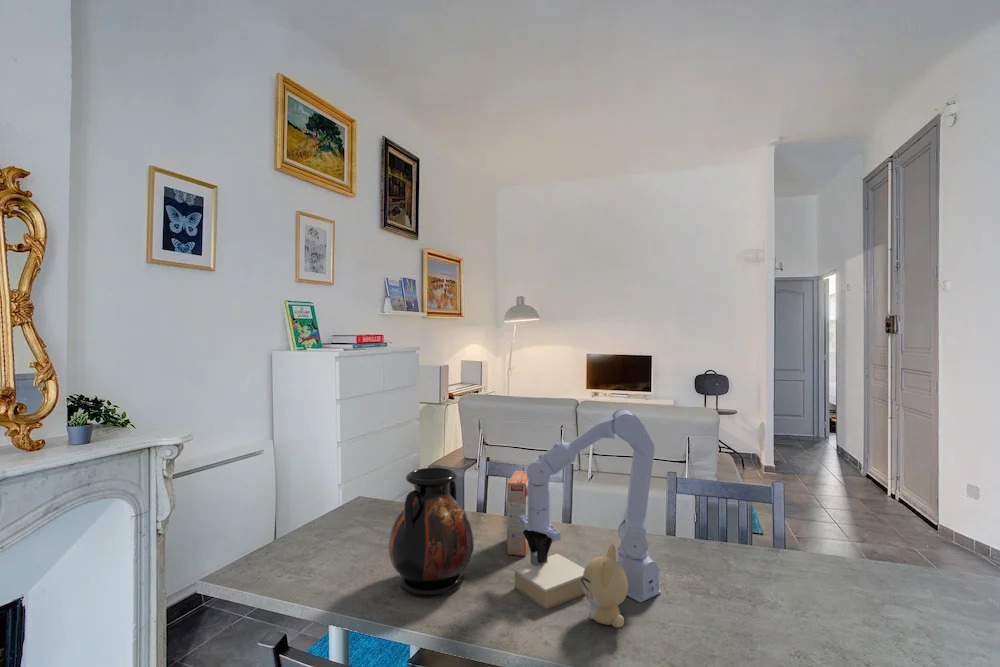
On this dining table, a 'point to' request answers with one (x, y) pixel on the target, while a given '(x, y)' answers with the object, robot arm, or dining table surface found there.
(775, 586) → the dining table surface
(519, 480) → the cracker box
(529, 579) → the carton lid
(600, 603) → the kitten
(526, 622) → the dining table surface
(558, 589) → the carton
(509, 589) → the dining table surface
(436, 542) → the amphora vase
